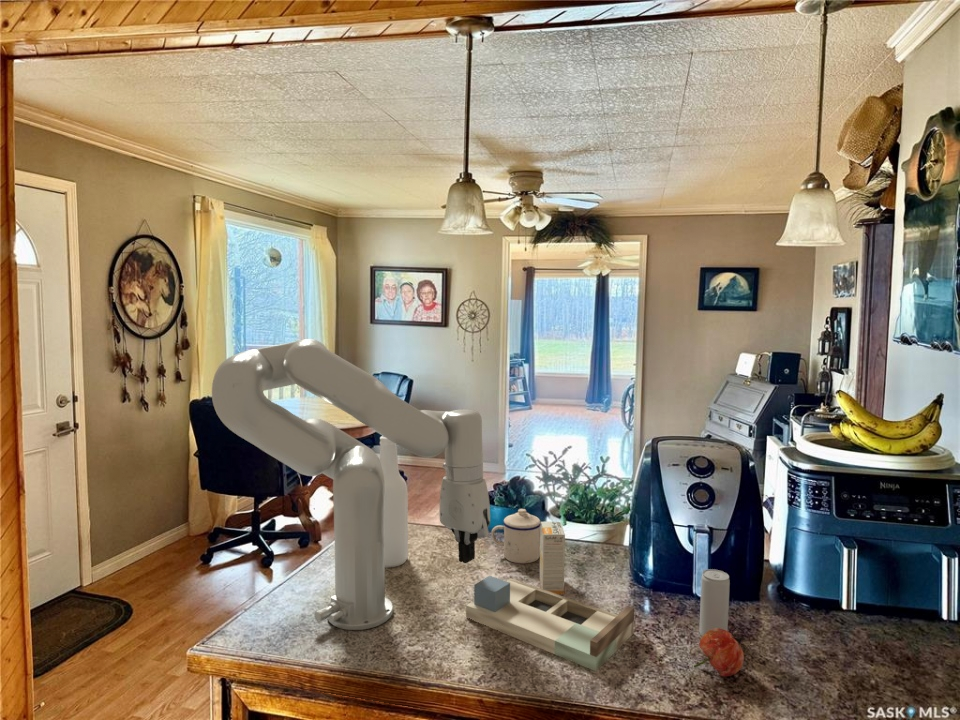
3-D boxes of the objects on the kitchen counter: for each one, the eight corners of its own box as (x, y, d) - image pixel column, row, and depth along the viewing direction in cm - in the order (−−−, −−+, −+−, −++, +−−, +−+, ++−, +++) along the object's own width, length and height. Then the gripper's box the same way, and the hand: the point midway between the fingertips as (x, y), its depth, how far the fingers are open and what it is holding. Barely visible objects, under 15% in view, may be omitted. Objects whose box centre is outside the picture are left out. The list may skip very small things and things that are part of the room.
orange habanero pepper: (705, 696, 99) (760, 670, 95) (678, 653, 100) (731, 627, 97) (707, 675, 105) (759, 651, 102) (682, 636, 107) (732, 611, 104)
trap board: (596, 671, 101) (596, 642, 101) (466, 617, 118) (466, 592, 118) (633, 633, 113) (634, 607, 113) (510, 589, 130) (510, 566, 130)
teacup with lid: (541, 550, 151) (542, 504, 150) (539, 565, 142) (539, 517, 141) (494, 546, 153) (494, 501, 152) (488, 562, 144) (488, 514, 143)
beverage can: (726, 632, 113) (729, 571, 112) (727, 646, 109) (730, 582, 108) (698, 628, 115) (701, 567, 114) (699, 641, 110) (701, 578, 109)
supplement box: (564, 595, 128) (566, 534, 127) (542, 594, 128) (543, 534, 127) (560, 577, 136) (561, 520, 135) (539, 577, 136) (539, 520, 135)
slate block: (494, 612, 115) (494, 592, 115) (474, 604, 118) (474, 584, 118) (509, 602, 119) (510, 582, 119) (489, 594, 122) (489, 575, 122)
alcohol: (377, 551, 149) (375, 431, 147) (411, 554, 148) (411, 433, 145) (365, 567, 141) (364, 439, 138) (402, 569, 139) (401, 441, 137)
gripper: (424, 470, 123) (427, 557, 125) (482, 482, 114) (484, 576, 116) (448, 462, 129) (451, 545, 131) (505, 473, 120) (507, 562, 121)
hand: (466, 560), depth 123 cm, fingers closed
